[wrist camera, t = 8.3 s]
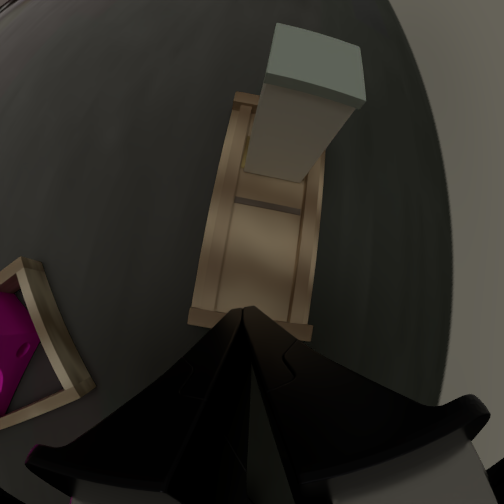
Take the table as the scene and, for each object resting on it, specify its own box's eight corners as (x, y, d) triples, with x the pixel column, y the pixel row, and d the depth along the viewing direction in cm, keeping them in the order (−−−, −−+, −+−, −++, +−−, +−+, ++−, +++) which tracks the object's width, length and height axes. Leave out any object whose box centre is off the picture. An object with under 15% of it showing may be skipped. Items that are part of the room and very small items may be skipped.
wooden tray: (300, 337, 23) (310, 341, 21) (190, 321, 22) (187, 324, 20) (322, 127, 27) (331, 113, 24) (233, 107, 26) (235, 91, 23)
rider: (301, 185, 24) (366, 101, 12) (241, 172, 23) (266, 72, 12) (306, 138, 25) (359, 47, 13) (250, 126, 24) (276, 22, 13)
